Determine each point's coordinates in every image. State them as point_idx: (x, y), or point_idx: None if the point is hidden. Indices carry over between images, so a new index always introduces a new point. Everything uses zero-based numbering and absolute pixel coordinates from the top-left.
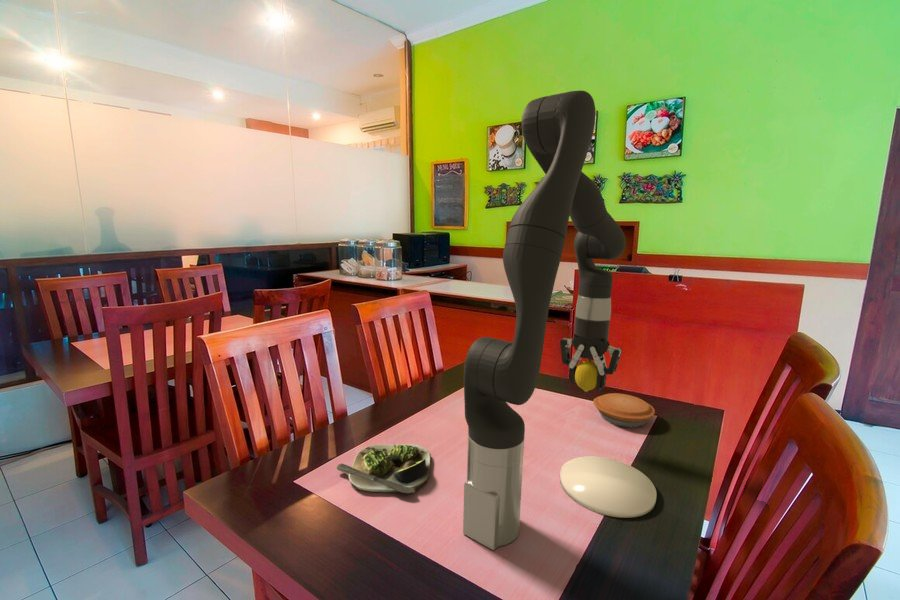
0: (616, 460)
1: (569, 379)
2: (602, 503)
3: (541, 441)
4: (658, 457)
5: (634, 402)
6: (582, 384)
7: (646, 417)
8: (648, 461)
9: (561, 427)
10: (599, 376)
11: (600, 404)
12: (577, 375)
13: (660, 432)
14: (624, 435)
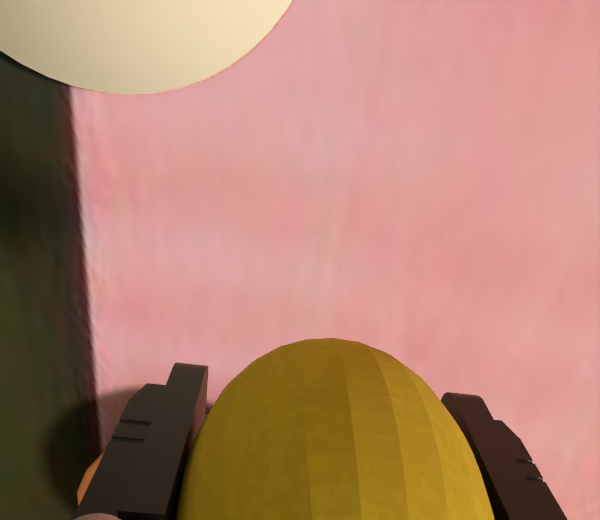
0: (116, 91)
1: (504, 427)
2: None
3: (478, 124)
4: (7, 255)
5: None
6: (352, 347)
7: (91, 468)
8: (27, 203)
9: (410, 294)
10: (143, 493)
11: None
12: (449, 438)
13: (63, 433)
14: (167, 354)
